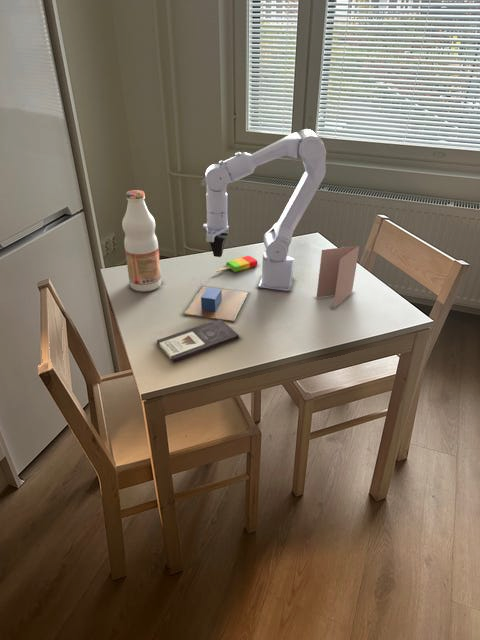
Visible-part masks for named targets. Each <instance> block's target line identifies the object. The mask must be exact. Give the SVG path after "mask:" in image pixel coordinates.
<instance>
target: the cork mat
mask: <svg viewBox="0 0 480 640" xmlns="http://www.w3.org/2000/svg"><path fill="white" fill-rule="evenodd" d="M208 287H210V288H212V287H211V286H202V287H201V289H200V290H199V291H198V293H197V294H196V295H195V296H194V298H193V300H192V301H191V303H190V304H189V306H188V307H187V309H186V310H185V311H184V313H183V314H184V315H185V316H192V317H199V318H206V319H213V320H218V319H221V320H222V321H225V322H235V321H236V319H237V317H238V315H239V313H240V311H241V309H242V307H243V305H244V304H245V300H246V299H247V297H248V295H249V292H247V291H242V290H241V291H240V290H233V289H232V290H231V289H224V288H220V289H221V296H222V301H221V303H220V305H219V307H218V308H217V310H216V312H212V311H205V310H201V297H202V295H203V294H204V292H205V291H206V289H207V288H208ZM216 288H217V287H216ZM217 289H219V288H217ZM184 315H183V316H184Z"/></svg>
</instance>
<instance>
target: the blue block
mask: <svg viewBox="0 0 480 640" xmlns="http://www.w3.org/2000/svg"><path fill="white" fill-rule="evenodd" d="M207 287H208V288H207V289H206V291H205V292H204V294H203V295H202V297H201V310H205V311H212V312H216V310H217V308H218V307H219V305H220V303H221V301H222V296H221V289H222V288H218V289H217V287H211V286H207ZM210 287H211V288H210Z"/></svg>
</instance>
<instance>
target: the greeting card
mask: <svg viewBox="0 0 480 640" xmlns="http://www.w3.org/2000/svg"><path fill="white" fill-rule="evenodd" d="M359 252H360V244H359V245H352V246H343V247H336V248H335V247H334V248H325V249H321V255H320V264H319V270H318V271H319V272H318V281H317V289H316V299H320V298H326V297H327V298H328V297H333V296H334V297H333V298H334V299H333V306H332V308H333V309H335V308H336V307H337V306H338V305H339V304H341V302H343V301H344V300H345V299H347V298H348V297H349V296H350V295H351V294H353V288H354V283H355V276H356V269H357V265H358V258H359Z"/></svg>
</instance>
